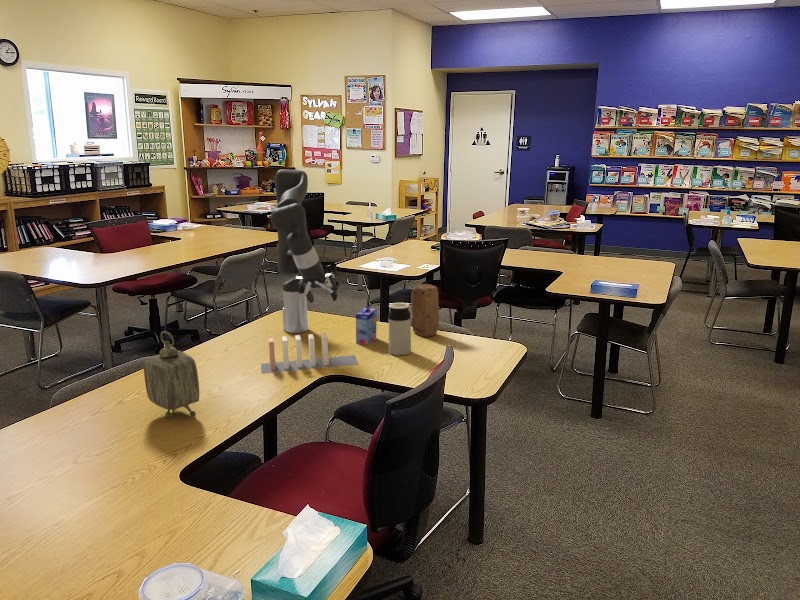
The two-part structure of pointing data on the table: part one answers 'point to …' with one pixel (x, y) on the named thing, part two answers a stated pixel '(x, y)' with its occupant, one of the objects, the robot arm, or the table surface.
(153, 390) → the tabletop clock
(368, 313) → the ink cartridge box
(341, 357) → the mat
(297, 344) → the domino
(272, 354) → the domino
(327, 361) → the domino
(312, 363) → the domino
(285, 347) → the domino
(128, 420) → the table surface
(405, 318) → the travel mug
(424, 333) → the block
